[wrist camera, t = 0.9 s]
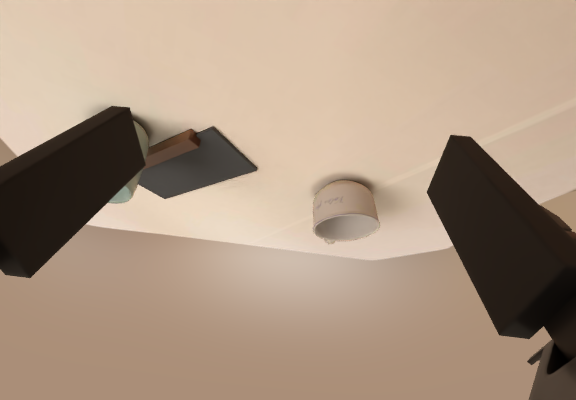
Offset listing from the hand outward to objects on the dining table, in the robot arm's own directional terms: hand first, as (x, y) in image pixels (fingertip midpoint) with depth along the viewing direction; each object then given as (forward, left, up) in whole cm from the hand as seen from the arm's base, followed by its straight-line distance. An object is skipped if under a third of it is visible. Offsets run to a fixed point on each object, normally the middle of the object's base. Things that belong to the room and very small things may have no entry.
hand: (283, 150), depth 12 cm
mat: (+16, -30, -19) cm, 39 cm away
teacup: (+34, -10, -19) cm, 41 cm away
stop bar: (+11, -30, -19) cm, 37 cm away
